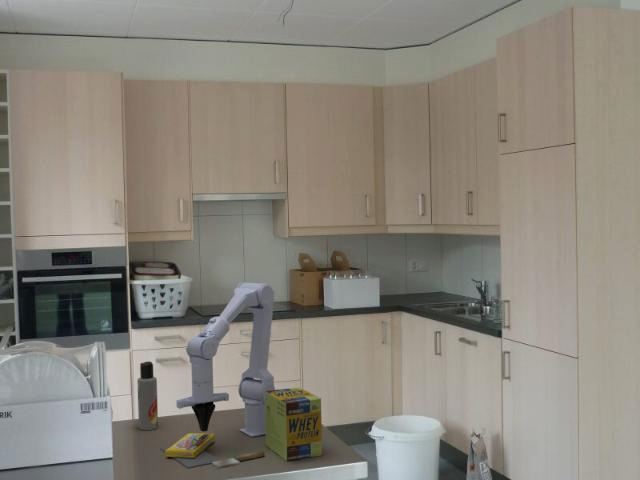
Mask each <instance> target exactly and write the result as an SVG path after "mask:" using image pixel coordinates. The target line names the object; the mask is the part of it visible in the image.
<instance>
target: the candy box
mask: <svg viewBox="0 0 640 480" xmlns="http://www.w3.org/2000/svg"><path fill="white" fill-rule="evenodd" d="M215 440H216V434H215V433H200V432H199V433H195V432H193V433H191V432H190V433H189V432H188V433H186V434H185V435H184V436H183V437H182V438H181V439H178V441H176V442H175V443H174V444H172V445H173V446H171V447H170V448H169V449H167V450H166V451H165V452H166V453H165V452H164V453H165V457H166V458H167V457H169V458H172V457H182V458H195V457H196V456H197V455H198V454H199V453H201V452H202V451H203V450H204V451H205V450H206V448H207V447H209V446H210V445H211V444H212V443H213V442H214V441H215Z"/></svg>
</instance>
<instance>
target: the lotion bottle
mask: <svg viewBox="0 0 640 480" xmlns="http://www.w3.org/2000/svg"><path fill="white" fill-rule="evenodd" d="M139 368H140V369H139V371H140V372H139V373H140V375H139V376H140V377H138V378H137V405H138V407H137V410H138V411H137V413H138V416H137V417H138V429H139V430H141V431H151V430H152V431H153V430H157V429H158V427H159V413H158V412H159V409H158V382H157V380H158V379H157V377H155V376H154V363H153V362H152V361H143V362H141V363H140V364H139Z"/></svg>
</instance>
